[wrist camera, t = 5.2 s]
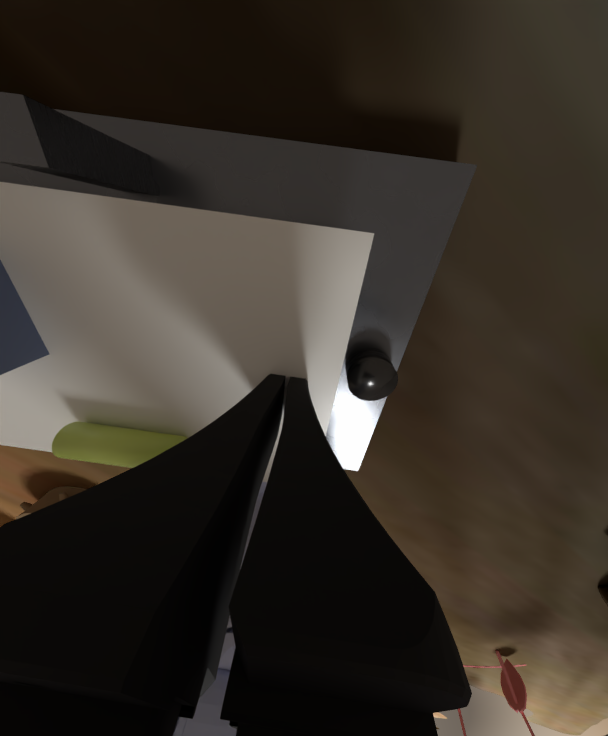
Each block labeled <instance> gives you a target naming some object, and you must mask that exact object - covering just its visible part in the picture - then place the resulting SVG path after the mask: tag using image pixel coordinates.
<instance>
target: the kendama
mask: <svg viewBox="0 0 608 736" xmlns="http://www.w3.org/2000/svg"><path fill="white" fill-rule="evenodd" d="M598 589H599V592H600V594H601V596H602V598H603V600H604V601H605V603H606V604H607V606H608V587H607V586H599V587H598Z"/></svg>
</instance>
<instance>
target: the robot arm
mask: <svg viewBox="0 0 608 736" xmlns="http://www.w3.org/2000/svg"><path fill="white" fill-rule="evenodd" d="M285 377H286V376H284V375H277V374H269V375H268V376H267V377H266V378H265V379H264V380H263V381H261V382H260V383H259V384H258V385H257V386H256V387H255V388H254V389H253V390H252V391H251V392H250V393H249V394H247V395H246V396H245V397H244V398H243V399H242V400H240V401H239V402H238V403H237V404H236V405H234V406H233V407H232V408H230V409H229V410H228V411H227V412H225V413H224V414H223V415H221V416H220V417H219V418H217V419H216V420H215V421H213V422H212V423H210V424H209V425H207V426H206V427H204V428H203V429H201V430H200V431H198V432H197V433H195V434H194V435H192V436H190V437H189V438H187V439H185V440H184V441H182V442H180V443H179V444H177V445H175V446H173V447H171V448H170V449H168V450H166V451H164V452H162V453H161V454H159V455H157V456H155V457H154V458H152V459H150V460H148V461H146V462H144V463H142V464H140V465H138V466H136V467H134V468H132V469H130V470H128V471H126V472H124V473H122V474H119V475H117V476H115V477H113V478H111V479H109V480H107V481H105V482H103V483H100V484H98V485H96V486H94V487H91V488H89V489H87V490H85V491H82V492H80V493H78V494H75V495H73V496H71V497H68V498H66V499H64V500H61V501H59V502H57V503H54V504H52V505H49V506H47V507H45V508H42V509H40V510H38V511H35V512H33V513H31V514H28V515H26V516H23V517H21V518H18V519H16V520H14V521H11V522H9V523H6V524H4V525H3V526H2V527H1V528H0V736H438V734H437V730H436V725H435V721H434V717H433V713H435V712H441V711H447V710H454V709H459V708H463V707H466V706H467V705H468V703H469V701H470V698H471V694H472V693H471V689H470V686H469V683H468V680H467V677H466V673H465V670H464V667H463V664H462V661H461V658H460V655H459V652H458V649H457V646H456V644H455V641H454V638H453V636H452V633H451V631H450V628H449V626H448V623H447V621H446V618H445V616H444V613H443V611H442V608H441V606H440V603H439V601H438V599H437V596H436V594H435V592H434V591H433V589H432V588H431V587H430V586H429V584H428V583H427V582H426V581H425V580H424V578H423V577H422V576H421V575H420V574H419V572H418V571H417V570H416V569H415V567H414V566H413V565H412V564H411V563H410V561H409V560H408V559H407V558H406V556H405V555H404V554H403V552H402V551H401V550H400V549H399V547H398V546H397V545H396V544H395V542H394V541H393V540H392V539H391V537H390V536H389V535H388V533H387V532H386V531H385V529H384V528H383V527H382V525H381V524H380V522H379V521H378V520H377V518H376V517H375V516H374V514H373V513H372V512H371V510H370V509H369V507H368V506H367V504H366V503H365V501H364V500H363V498H362V497H361V496H360V494H359V493H358V491H357V490H356V488H355V487H354V485H353V484H352V482H351V481H350V479H349V478H348V476H347V474H346V473H345V471H344V469H343V468H342V466H341V464H340V463H339V461H338V459H337V457H336V456H335V454H334V452H333V450H332V448H331V446H330V444H329V442H328V440H327V438H326V436H325V434H324V432H323V429H322V427H321V425H320V423H319V420H318V418H317V415H316V412H315V409H314V406H313V403H312V400H311V396H310V393H309V388H308V381H307V380H306V379H305V378H298V377H291V376H290V379H289V381H288V384H287V391H286V400H285V409H284V418H283V425H282V430H281V434H280V438H279V442H278V445H277V449H276V453H275V456H274V460H273V464H272V467H271V471H270V474H269V478H268V481H267V482H262V481H263V478H264V475H265V472H266V469H267V466H268V463H269V460H270V457H271V454H272V451H273V448H274V445H275V442H276V439H277V436H278V432H279V427H280V422H281V418H282V410H283V399H284V388H285Z"/></svg>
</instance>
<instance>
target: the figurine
mask: <svg viewBox="0 0 608 736" xmlns="http://www.w3.org/2000/svg"><path fill="white" fill-rule="evenodd" d="M495 651H496V654H497V656H498V659H499V662H500V664H501V666H465V665H463V666H464V667H473V668H480V667H482V668H502V672H501V686H502V690H503V693H504V695H505V697H506V699H507V701H508V704H509V705H510V707H511V708H512V709H514V710H515V711H516V712H518V711H519V712H520V713H521V714H522V716H523V718H524V720H525V722H526V724H527V726H528V728H529V731H530V733H531V735H532V736H535V735H534V733H533V731H532V729H531V727H530V725H529V723H528V721H527V719H526V717H525V715H524V713H523V711H524V710H525V709H526V699H527V694H526V688H525V685H524V683H523V680H522V678H521V676H520V675H519V673H518V672H517V671H516V669H515V668H514V667H518V666H526V664H523V665H514V666H513V665H512V664H511V663H510V662H509V661H508V660H507V659H506V661H505V663H503V661H502V658H501V655H500V653H499V651H498V650H495ZM458 712H459V716H460V721H461V725H462V730H463V734H464V736H466V733H465V728H464V724H463V719H462V715H461V711H460V708H459V709H458Z"/></svg>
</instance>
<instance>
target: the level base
mask: <svg viewBox="0 0 608 736" xmlns="http://www.w3.org/2000/svg"><path fill="white" fill-rule="evenodd" d="M476 167H477V165H473V164H465V163H458V162H450V161H443V160H435V159H428V158H420V157H412V156H405V155H397V154H390V153H382V152H375V151H367V150H360V149H352V148H344V147H337V146H329V145H322V144H314V143H307V142H299V141H291V140H284V139H276V138H269V137H261V136H254V135H246V134H239V133H231V132H223V131H216V130H208V129H201V128H193V127H186V126H178V125H171V124H163V123H155V122H148V121H140V120H133V119H125V118H118V117H110V116H103V115H95V114H87V113H80V112H72V111H65V110H57V109H52V108H50V107H47V106H45V105H43V104H41V103H39V102H37V101H35V100H33V99H31V98H29V97H27V96H24V95H21V94H13V93H5V92H0V182H6V183H13V184H20V185H28V186H35V187H42V188H49V189H57V190H64V191H71V192H78V193H86V194H93V195H100V196H107V197H115V198H122V199H129V200H136V201H144V202H151V203H158V204H165V205H172V206H180V207H187V208H194V209H201V210H209V211H216V212H223V213H230V214H238V215H245V216H252V217H259V218H267V219H274V220H281V221H288V222H296V223H303V224H310V225H317V226H325V227H332V228H339V229H346V230H354V231H361V232H368V233H374V237H373V241H372V245H371V250H370V254H369V258H368V262H367V266H366V270H365V275H364V279H363V283H362V287H361V291H360V295H359V300H358V304H357V308H356V312H355V316H354V320H353V325H352V329H351V333H350V337H349V341H348V345H347V350H346V354H345V358H344V362H343V366H342V370H341V375H340V379H339V383H338V387H337V391H336V395H335V400H334V404H333V408H332V412H331V416H330V420H329V425H328V429H327V433H326V438H327V440H328V442H329V444H330V446H331V448H332V450H333V452H334V454H335V456H336V457H337V459H338V461H339V463H340V464H341V466H342V468H343V469H347V470H354V471H358V470H359V467H360V464H361V462H362V459H363V457H364V454H365V452H366V449H367V446H368V444H369V441H370V439H371V436H372V434H373V431H374V429H375V426H376V423H377V421H378V418H379V416H380V413H381V411H382V408H383V405H384V403H385V400H386V398H387V396H388V395H389V394H390V393H392V392H393V390H394V389H395V387H396V385H397V382H398V375H397V370H398V367H399V364H400V362H401V359H402V357H403V354H404V352H405V349H406V346H407V344H408V341H409V339H410V336H411V334H412V331H413V328H414V326H415V323H416V321H417V318H418V316H419V313H420V311H421V308H422V305H423V303H424V300H425V298H426V295H427V293H428V290H429V287H430V285H431V282H432V280H433V277H434V275H435V272H436V269H437V267H438V264H439V262H440V259H441V257H442V254H443V252H444V249H445V246H446V244H447V241H448V239H449V236H450V234H451V231H452V228H453V226H454V223H455V221H456V218H457V216H458V213H459V211H460V208H461V205H462V203H463V200H464V198H465V195H466V193H467V190H468V187H469V185H470V182H471V180H472V177H473V175H474V172H475V169H476Z"/></svg>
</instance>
